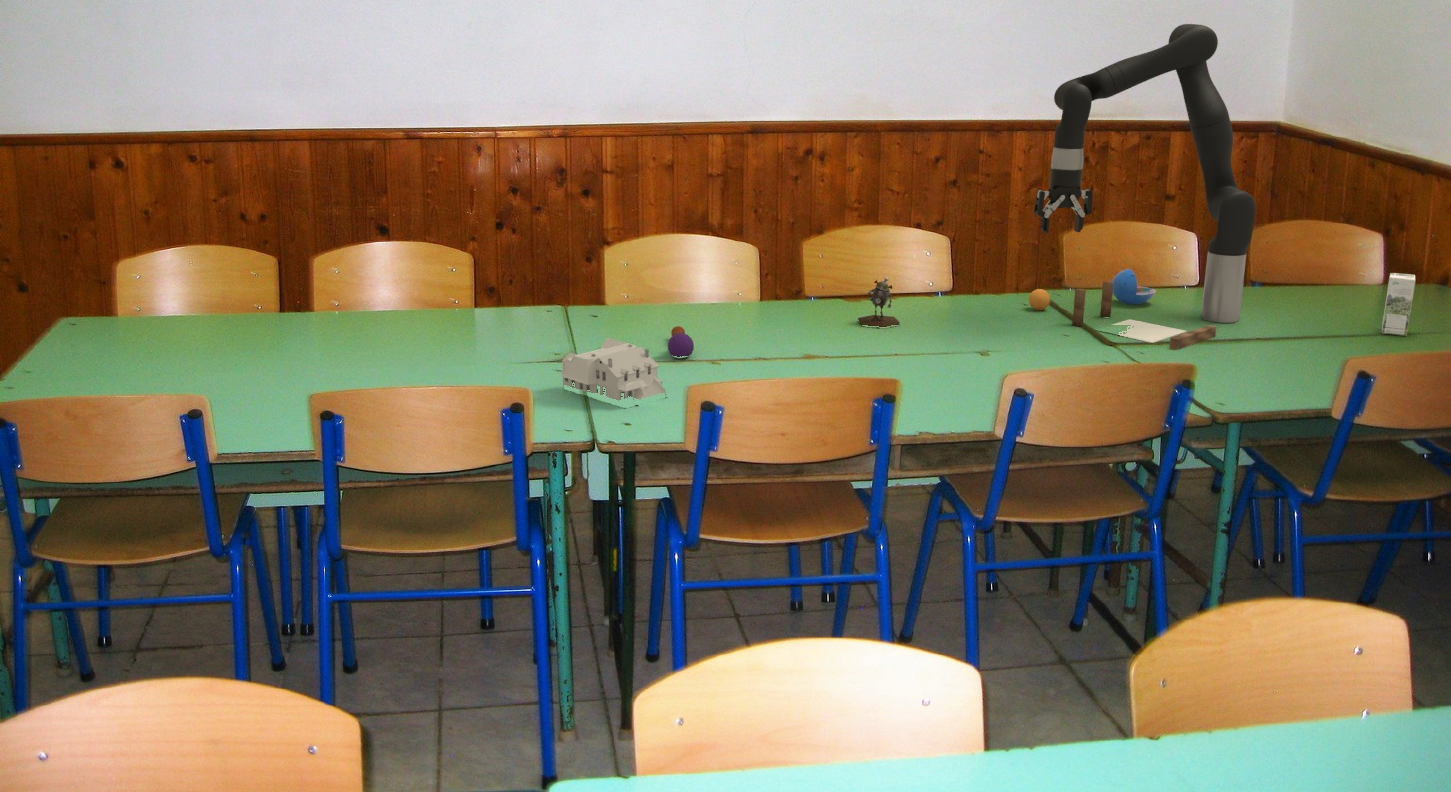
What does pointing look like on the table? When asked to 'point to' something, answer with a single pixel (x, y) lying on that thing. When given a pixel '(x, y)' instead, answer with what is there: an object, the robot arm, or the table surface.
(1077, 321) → the post near
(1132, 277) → the cell model
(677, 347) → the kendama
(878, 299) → the robot figurine
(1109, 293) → the post far
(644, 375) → the house model
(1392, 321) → the syrup box
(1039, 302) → the ball
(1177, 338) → the wall
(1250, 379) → the table surface
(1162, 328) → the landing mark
